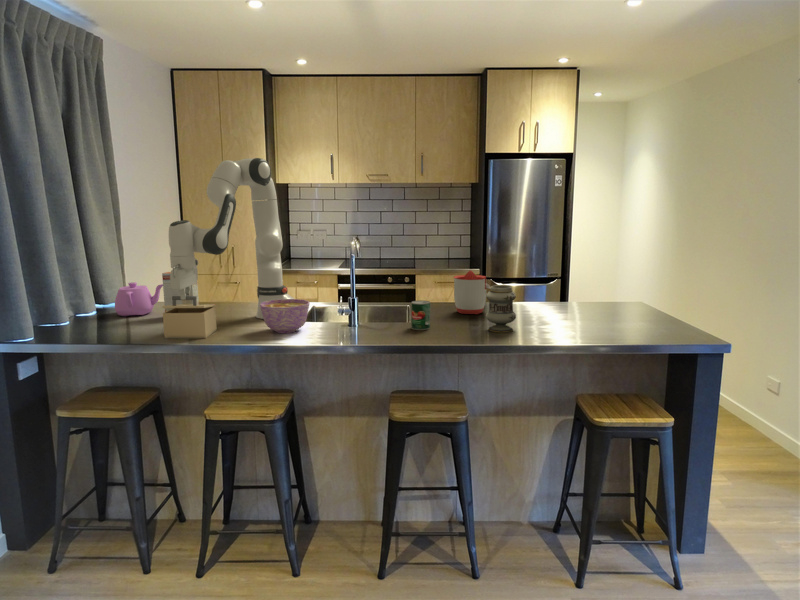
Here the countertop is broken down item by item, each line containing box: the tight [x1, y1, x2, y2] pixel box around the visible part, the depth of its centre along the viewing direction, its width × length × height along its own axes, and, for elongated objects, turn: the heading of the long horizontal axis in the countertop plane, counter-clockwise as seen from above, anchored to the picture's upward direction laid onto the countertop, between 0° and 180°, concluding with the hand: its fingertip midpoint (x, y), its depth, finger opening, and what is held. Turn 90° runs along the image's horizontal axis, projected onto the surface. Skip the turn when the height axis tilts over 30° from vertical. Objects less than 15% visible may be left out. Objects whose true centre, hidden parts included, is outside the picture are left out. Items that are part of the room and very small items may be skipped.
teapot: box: [114, 282, 163, 317], centre depth 273 cm, size 23×21×15 cm
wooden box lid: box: [162, 296, 216, 309], centre depth 231 cm, size 16×14×5 cm
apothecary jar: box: [485, 284, 517, 333], centre depth 237 cm, size 12×12×18 cm
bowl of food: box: [260, 298, 310, 334], centre depth 237 cm, size 20×20×12 cm
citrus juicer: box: [453, 270, 491, 315], centre depth 273 cm, size 16×17×20 cm
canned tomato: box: [410, 299, 431, 331], centre depth 241 cm, size 8×8×11 cm
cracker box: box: [161, 271, 200, 313], centre depth 266 cm, size 14×6×21 cm, turn 84°
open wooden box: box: [162, 305, 218, 339], centre depth 232 cm, size 16×14×10 cm
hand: (185, 298), depth 226 cm, fingers open, 2 cm apart
